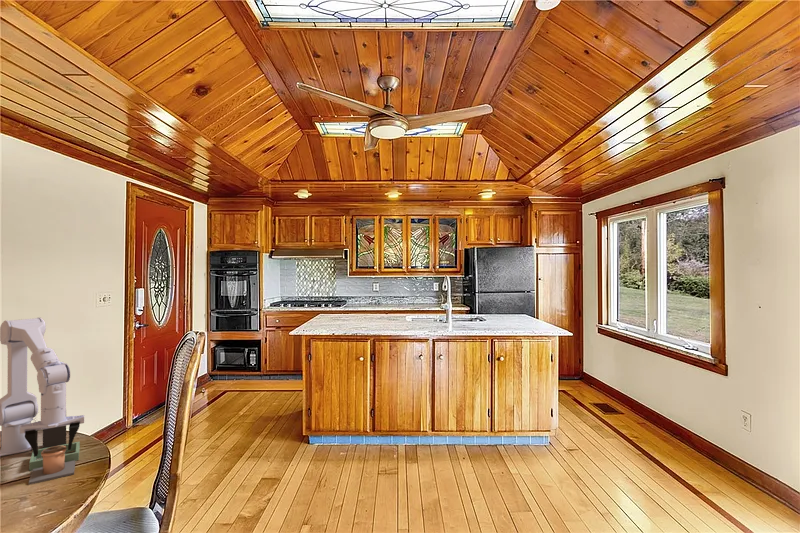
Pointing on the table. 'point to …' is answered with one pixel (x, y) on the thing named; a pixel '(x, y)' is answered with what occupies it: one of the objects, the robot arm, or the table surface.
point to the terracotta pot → (53, 459)
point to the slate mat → (40, 477)
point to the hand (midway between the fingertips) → (53, 451)
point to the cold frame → (68, 457)
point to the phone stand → (54, 436)
